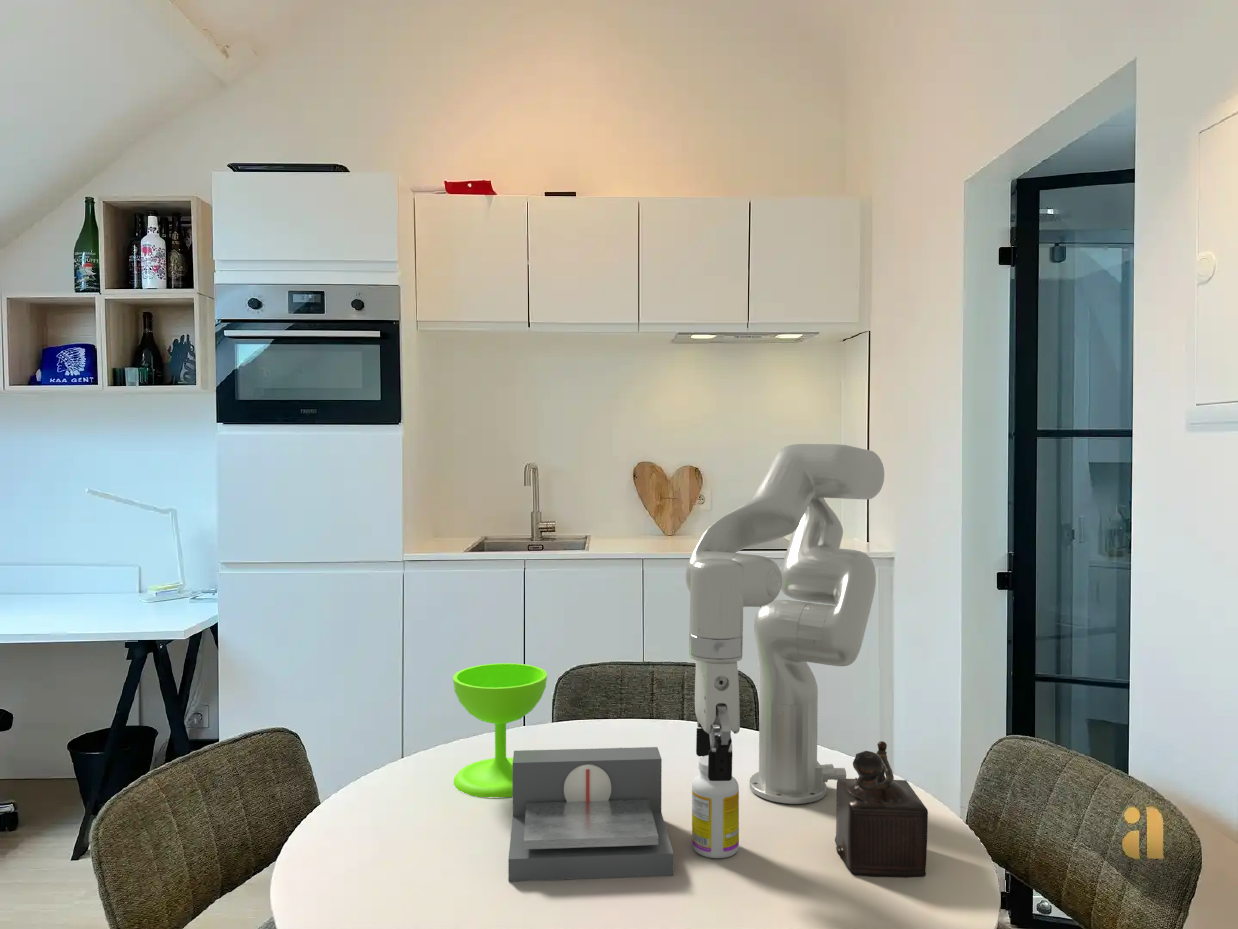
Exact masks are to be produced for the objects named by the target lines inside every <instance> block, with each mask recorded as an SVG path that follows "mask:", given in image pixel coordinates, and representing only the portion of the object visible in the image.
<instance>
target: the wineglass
mask: <svg viewBox="0 0 1238 929" xmlns="http://www.w3.org/2000/svg"><path fill="white" fill-rule="evenodd" d="M452 676H453V677H452V680H453V681H452V682H453V688H454V692H455V694H456V697H457V700H458V701H459V704H460V705H461V706H462V707H463V708H464V709H465V710H466V712H468V714H469V715H471V716H473V717H474V718H475V719H477V720H479V721H481V722H485V723H489V724H494V758H486V759H482V760H478V761H475V762H472V763H469V764H466V766H464V767H462V768H461V769H460V770H458V771H457V773H456V774H455V775H454V778H453V786H454V785H455V786H454V788H455V787H456V788H457V789H458V790H457V789H456V788H455V789H456V790H457V791H458V792H460V791H462V792H464V793H467V794H469V795H468V796H470V795H471V797H475V796H477V797H476V798H481V797H509V798H513V797H512V796H513V757H507V724H509V723H512V722H515V721H518V720H521V719H522V718H524V717H525V716H526V715H528V714H529V713H530V712H532V711H533V710H534V708H536V706H537V704H538V703H539V702H540V700H541V699H542V697H543V695H544V693H545V690H546V688H547V682H548V681H547V679H548V673H547V671H546V670H545V669H543V668H541V667H538V666H537V665H535V666H534V665H532V664H526V663H525V664H523V663H513V662H512V663H510V662H503V663H502V662H500V663H486V664H479V665H474V666H469V667H466V668H464V669H461V670H459V671H456V672H455V674H453V675H452ZM462 792H461V793H462ZM464 793H463V794H464ZM467 794H466V795H467Z"/></svg>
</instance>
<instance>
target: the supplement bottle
mask: <svg viewBox="0 0 1238 929" xmlns="http://www.w3.org/2000/svg"><path fill="white" fill-rule="evenodd" d="M698 769H699V772H700V773H699V774H698V775H696V776H695V777H694V778H693V780H692V782H691V835H692V836H691V840H692V841H691V843H692V848H693V850H694V851H695V852H696V853H697V854H698V855H700V856H702V857H705V858H709V859H726V858H729V857H731V856H734V855H735V854H736V853H737V852H738V851H739V849H740V848H739V846H740V835H739V834H740V812H739V810H740V806H739V805H740V804H739V803H740V789H739V783H738V781H737V779H736V777H734V776H733V775H732V779H731V780H730V781H710V780H709V778H708V755H707V756H700V757H699V759H698Z"/></svg>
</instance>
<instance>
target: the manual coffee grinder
mask: <svg viewBox="0 0 1238 929" xmlns="http://www.w3.org/2000/svg"><path fill="white" fill-rule="evenodd" d="M887 746H888V744H887V743H886V742H885V741H882V740H881V741H879V742H877V748H878V750H877V751H876V752H874V751H869V750H864V751H861V752H858V753H856V754H855V758H854V760H853V762H852V767H853V769H854V771H856V773H857V775H858V777H855V778H846V779H845V778H840V779H838V780H836V804H835V805H836V808H835V809H836V814H835V815H836V816H835V819H836V821H835V823H836V825H835V826H836V827H835V837H834V842H835V845H836V846H835V851H836V853H837V854H838V856H839V857H840V859H841V860H842V862H843V864H844V865H845V867H846V868H847V870H848V871H849V872H850V874H852V875H859V876H866V877H877V878H881V877H882V878H885V877H886V878H914V877H915V878H920V877H922V878H923V877H926V875H927V872H926V870H927V853H928V822H929V820H928V819H929V816H928V815H929V811H928V809H927V807H926V805H925V804H924V803H923V802H922V799H920V798H919V796H918V794H916V792H915V791H914V789H913V788H912V786H911V785H910V784H909V782H908V781H907V780H905V779H895V776H894V772H893V770H892V768H891V765H890V763H889V760H888V755H887V754H888V753H887Z"/></svg>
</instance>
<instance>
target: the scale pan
mask: <svg viewBox="0 0 1238 929" xmlns="http://www.w3.org/2000/svg"><path fill="white" fill-rule="evenodd" d="M639 845H658V833H657V829H656V826H655V822H654V818H653V814H652V811H651V807H650V803H649V800H648V799H639V800H608V801H589V802H586V801H582V802H539V803H526V814H525V829H524V849H551V848H580V847H609V846H639Z"/></svg>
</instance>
